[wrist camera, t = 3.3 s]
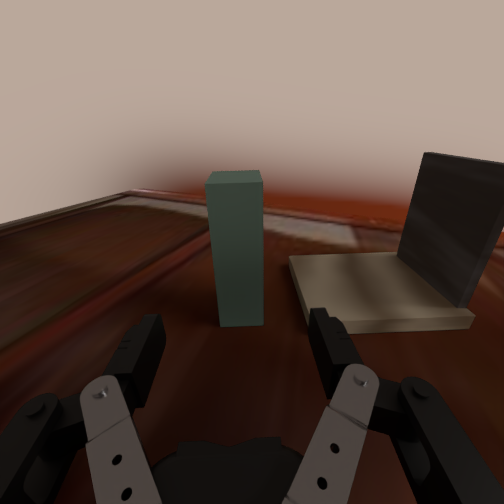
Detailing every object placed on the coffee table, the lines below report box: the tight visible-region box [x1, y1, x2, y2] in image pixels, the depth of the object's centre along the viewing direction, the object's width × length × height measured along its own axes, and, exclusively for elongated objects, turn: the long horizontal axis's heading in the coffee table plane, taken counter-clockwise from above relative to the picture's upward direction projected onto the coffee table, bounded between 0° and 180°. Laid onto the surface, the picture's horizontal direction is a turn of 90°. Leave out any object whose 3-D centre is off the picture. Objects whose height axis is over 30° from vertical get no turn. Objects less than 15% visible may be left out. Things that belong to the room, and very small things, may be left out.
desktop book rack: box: [289, 152, 504, 334], centre depth 24 cm, size 14×12×14 cm
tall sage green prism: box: [205, 170, 264, 327], centre depth 22 cm, size 4×5×13 cm
